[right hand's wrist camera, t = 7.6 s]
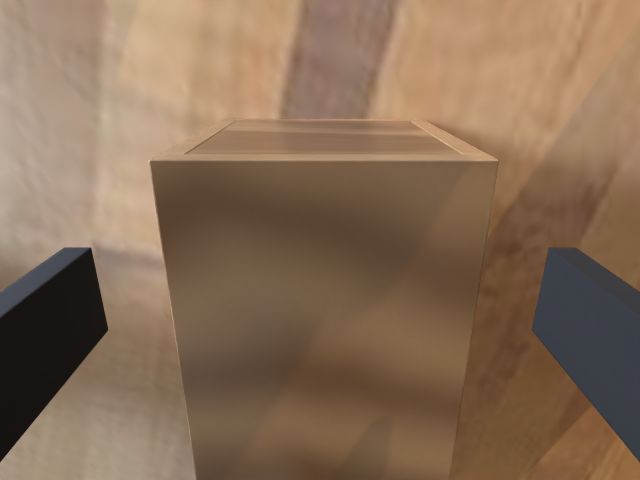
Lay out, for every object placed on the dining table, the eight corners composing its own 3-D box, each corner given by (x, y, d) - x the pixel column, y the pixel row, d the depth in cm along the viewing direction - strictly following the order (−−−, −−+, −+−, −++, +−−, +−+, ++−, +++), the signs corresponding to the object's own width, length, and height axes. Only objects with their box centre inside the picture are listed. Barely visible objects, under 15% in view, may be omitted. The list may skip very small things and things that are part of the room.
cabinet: (400, 383, 31) (439, 543, 20) (244, 382, 31) (205, 542, 21) (423, 118, 24) (500, 159, 14) (222, 118, 24) (148, 159, 14)
